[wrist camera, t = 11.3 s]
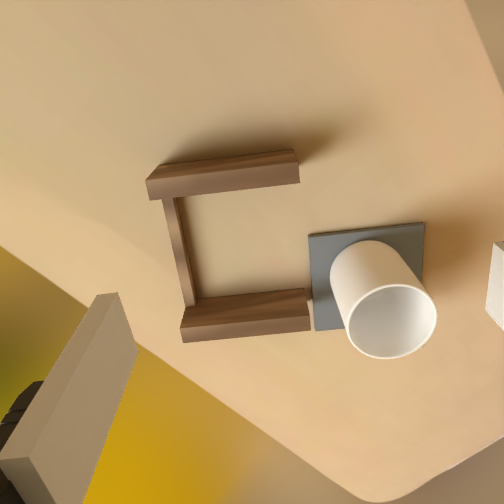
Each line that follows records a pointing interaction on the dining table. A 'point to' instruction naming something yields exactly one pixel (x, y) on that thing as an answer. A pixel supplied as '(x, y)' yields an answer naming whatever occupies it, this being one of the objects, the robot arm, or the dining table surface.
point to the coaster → (331, 244)
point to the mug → (381, 301)
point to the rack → (197, 310)
